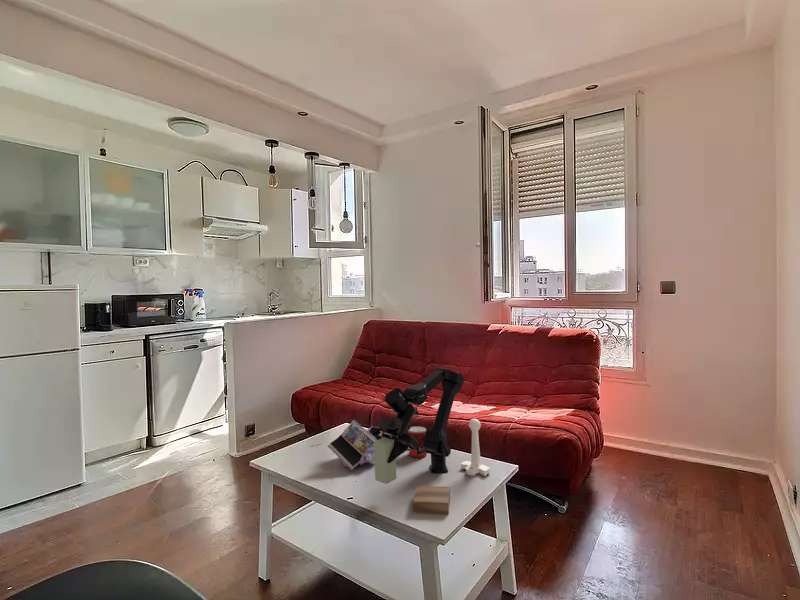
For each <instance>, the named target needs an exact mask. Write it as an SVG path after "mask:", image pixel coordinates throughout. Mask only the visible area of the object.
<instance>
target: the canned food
mask: <svg viewBox="0 0 800 600" xmlns="http://www.w3.org/2000/svg"><path fill="white" fill-rule="evenodd" d="M426 430H427V428H426V427H424V426H410V430H407V434H408V435H412V436H413V437H414V438H415V439H416V440H417V441H418V442H419V447H418V449H417V451H415V450H411V449H410V448H409V447H408V449H409V451H408V455H409V456H410V457H412V459H413V458H414V459H421V458H425V457H426V456H427V454H428V453H426V451H425V448H424V444H423V442H424V437H425V434H426Z"/></svg>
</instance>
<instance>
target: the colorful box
mask: <svg viewBox="0 0 800 600" xmlns="http://www.w3.org/2000/svg"><path fill="white" fill-rule="evenodd" d="M373 426H374V425H373ZM373 426H370V427H369V428H368V429H367V430H366V429H365V427H363V426H361V424H359V423H358V421H356V420H355V419H353V420H352V421H351V423H349V425H348V426H347V427H346V428H345V429H343V432H342V433H341V434H340V435H339V436H337V437H336V438H335V439H333V440H332V441H331V442H330V443H328V444H327V445H326V446H327V447H328V449H329V450H331V451H332V452H333V454H334V455H336V457H338V459H339V460H340V461H341V462H342V464H343V466H344V467H345V468H349V469H350V470H351V471H352V470H354V468H356V467H357V466H358V465H361V466H362V465H363V464H367V463H374V464H375V458H374V441H377V439H376V438H375V437H374V436H373V435H372V434H371V433H370V432H369V431H370V429H371V427H373Z"/></svg>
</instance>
